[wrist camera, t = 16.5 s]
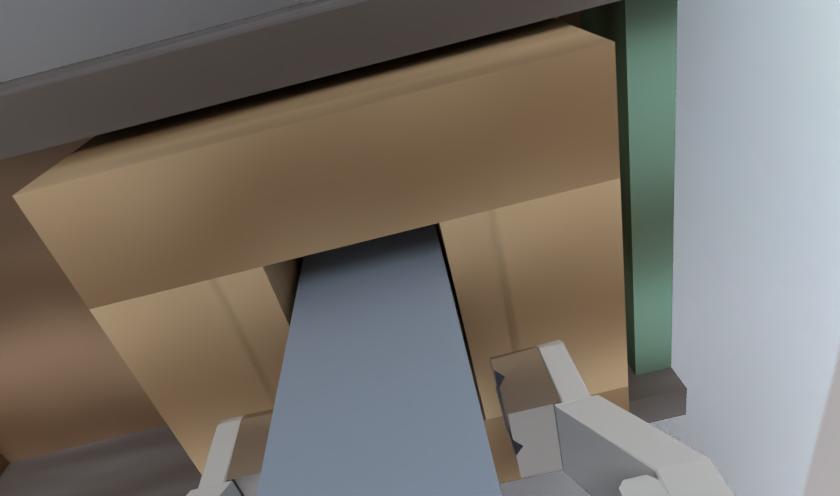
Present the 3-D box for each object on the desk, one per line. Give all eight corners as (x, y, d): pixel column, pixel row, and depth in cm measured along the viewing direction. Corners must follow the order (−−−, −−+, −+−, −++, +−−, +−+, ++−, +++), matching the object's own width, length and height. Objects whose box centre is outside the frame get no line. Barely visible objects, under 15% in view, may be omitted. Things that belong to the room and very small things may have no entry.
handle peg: (310, 221, 16) (242, 567, 7) (427, 193, 15) (505, 509, 7) (345, 314, 17) (325, 684, 9) (450, 289, 17) (536, 638, 9)
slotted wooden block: (129, 111, 15) (12, 195, 10) (528, 8, 15) (614, 42, 10) (275, 396, 21) (247, 541, 16) (564, 327, 20) (630, 453, 15)
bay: (-284, 154, 16) (-531, 235, 11) (604, -79, 15) (704, -88, 10) (13, 467, 23) (-69, 589, 18) (621, 321, 22) (685, 414, 18)
